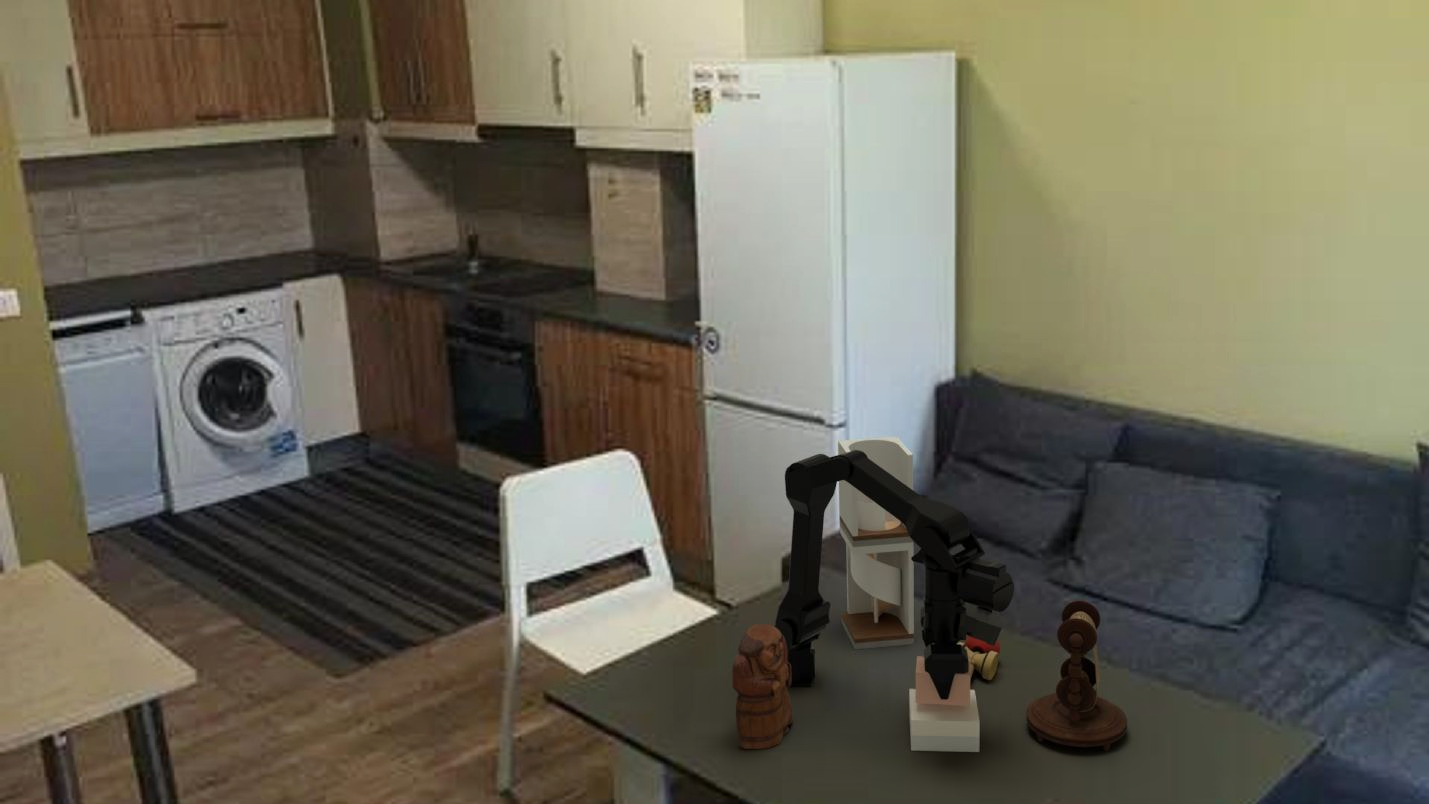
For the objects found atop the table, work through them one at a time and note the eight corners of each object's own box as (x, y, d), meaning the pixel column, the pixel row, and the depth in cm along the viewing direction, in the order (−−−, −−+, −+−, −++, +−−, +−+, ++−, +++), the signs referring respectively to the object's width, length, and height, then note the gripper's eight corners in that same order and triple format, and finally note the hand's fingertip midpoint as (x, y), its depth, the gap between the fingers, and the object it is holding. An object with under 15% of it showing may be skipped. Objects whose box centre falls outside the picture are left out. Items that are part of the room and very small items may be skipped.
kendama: (981, 715, 205) (1013, 655, 219) (973, 681, 203) (1006, 622, 217) (935, 713, 209) (970, 654, 223) (927, 679, 207) (962, 622, 221)
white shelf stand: (841, 622, 237) (837, 440, 229) (897, 618, 238) (896, 436, 230) (854, 649, 226) (851, 459, 218) (913, 644, 227) (913, 454, 219)
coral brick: (915, 703, 193) (915, 672, 192) (917, 685, 198) (917, 656, 197) (970, 705, 192) (970, 675, 190) (970, 688, 197) (970, 658, 195)
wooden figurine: (770, 756, 192) (766, 646, 188) (731, 748, 195) (726, 639, 191) (800, 720, 203) (797, 614, 198) (763, 713, 205) (759, 608, 201)
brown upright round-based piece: (1123, 762, 187) (1129, 635, 182) (1020, 748, 192) (1022, 624, 187) (1129, 714, 200) (1134, 595, 195) (1032, 702, 205) (1034, 585, 200)
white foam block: (911, 750, 192) (911, 720, 191) (909, 717, 202) (909, 688, 201) (979, 752, 191) (979, 721, 190) (974, 719, 201) (974, 689, 199)
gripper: (1005, 620, 181) (1003, 721, 185) (993, 570, 199) (992, 662, 203) (924, 619, 182) (925, 719, 186) (920, 569, 200) (920, 661, 204)
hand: (943, 689), depth 195 cm, fingers closed on coral brick, 6 cm apart
